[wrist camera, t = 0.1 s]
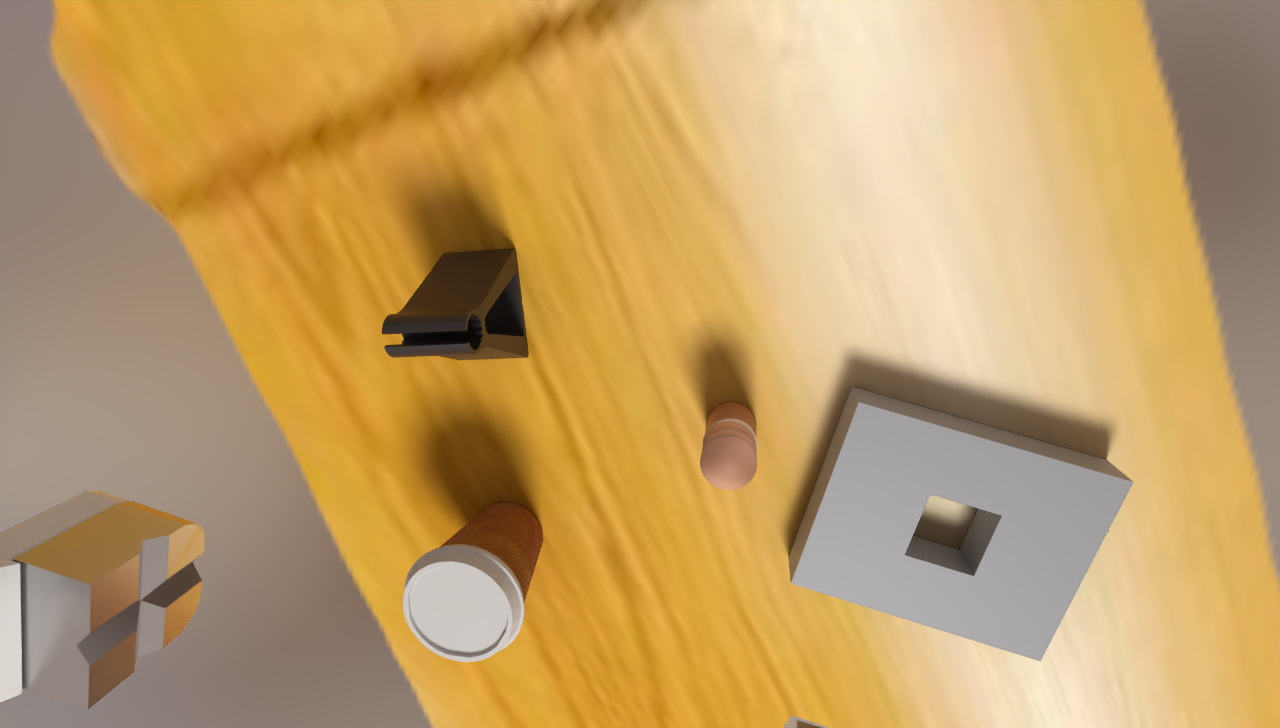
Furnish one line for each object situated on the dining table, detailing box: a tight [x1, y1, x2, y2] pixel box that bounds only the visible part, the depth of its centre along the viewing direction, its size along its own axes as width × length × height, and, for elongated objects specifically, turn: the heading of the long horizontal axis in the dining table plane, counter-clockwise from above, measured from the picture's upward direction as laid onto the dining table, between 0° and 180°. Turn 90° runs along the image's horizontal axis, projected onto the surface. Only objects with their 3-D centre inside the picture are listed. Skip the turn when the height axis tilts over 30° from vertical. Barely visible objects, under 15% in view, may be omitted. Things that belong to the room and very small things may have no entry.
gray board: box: [789, 386, 1133, 661], centre depth 56 cm, size 16×20×4 cm
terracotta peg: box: [700, 402, 757, 490], centre depth 55 cm, size 4×4×8 cm
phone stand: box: [382, 249, 528, 360], centre depth 53 cm, size 9×6×12 cm, turn 4°
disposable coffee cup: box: [403, 502, 543, 662], centre depth 59 cm, size 10×10×12 cm
